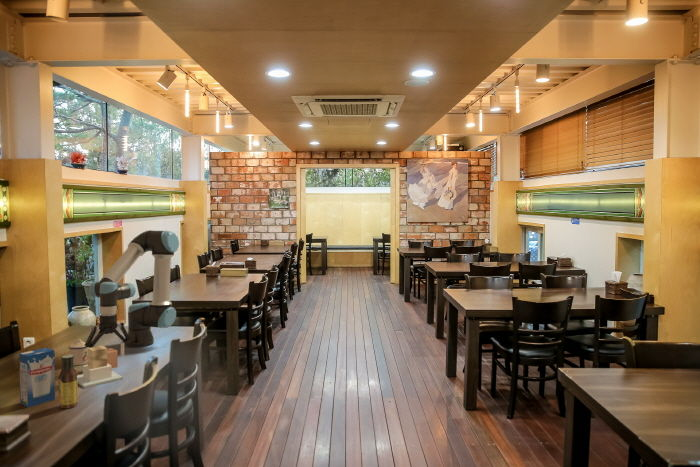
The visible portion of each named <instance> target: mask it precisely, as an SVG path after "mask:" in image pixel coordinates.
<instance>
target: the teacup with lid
mask: <svg viewBox="0 0 700 467" xmlns="http://www.w3.org/2000/svg"><path fill="white" fill-rule="evenodd" d="M85 343H86V341H83V340H82V339H77V340H76V342H74V343H70V345H69V347H68V350H69V352H68V353H69V354H68V355H74V359H73V365H74V366H75V367H76V366H84V365H88V348H89V347H86V346H85ZM74 366H73V367H74Z"/></svg>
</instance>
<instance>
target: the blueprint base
mask: <svg viewBox="0 0 700 467" xmlns="http://www.w3.org/2000/svg"><path fill="white" fill-rule="evenodd" d="M121 380H124V376H122V375H120V374H118V372H116V371H114V370H113V368H112V366H111V365H109V364H108V363H107V366H104V367H99V368H95V369H92V368H91V367H89V366H88V364H84V365H82V374H77V385H79V386H81V387H82V388H84V389H86V388H87V389H88V388H91V387H95V386H100V385H104V384H108V383H113V382H116V381H121Z"/></svg>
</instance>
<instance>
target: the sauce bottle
mask: <svg viewBox="0 0 700 467" xmlns="http://www.w3.org/2000/svg"><path fill="white" fill-rule="evenodd" d="M73 359H74V355H69V354H65V355H62V356H61V362H62V363H61V370H60V372H59V375H58V403H59V407H60V408H61V409H71V408H74V407H76V406H77V405H78V399H79V398H78V397H79V396H78V395H79V392H78V391H79V390H78V387H79V386H78V385H79V384H78V383H77V375H78V372H77V370H76V369H75V367H74V365H73Z"/></svg>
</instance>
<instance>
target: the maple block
mask: <svg viewBox="0 0 700 467" xmlns="http://www.w3.org/2000/svg"><path fill="white" fill-rule="evenodd" d="M107 349H108V348H107V347H106V346H104V345H99V346H93V347H91V348H88V363H87V365H88V366H89V367H91V368H92V369H95V368H99V367H104V366H107Z"/></svg>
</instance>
